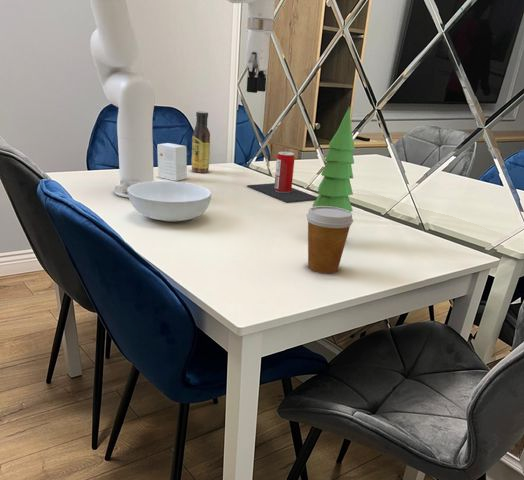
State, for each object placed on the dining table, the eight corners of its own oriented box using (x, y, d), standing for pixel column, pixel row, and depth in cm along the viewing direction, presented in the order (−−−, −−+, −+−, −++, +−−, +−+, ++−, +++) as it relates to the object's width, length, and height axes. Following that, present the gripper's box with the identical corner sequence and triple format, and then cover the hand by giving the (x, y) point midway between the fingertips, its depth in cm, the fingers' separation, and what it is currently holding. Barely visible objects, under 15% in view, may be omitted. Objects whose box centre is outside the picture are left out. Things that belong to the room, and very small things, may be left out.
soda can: (294, 192, 172) (298, 153, 166) (283, 194, 168) (286, 154, 162) (282, 188, 175) (285, 150, 169) (270, 190, 171) (273, 151, 166)
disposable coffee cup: (341, 261, 117) (349, 207, 111) (349, 277, 109) (358, 219, 103) (298, 259, 117) (304, 204, 111) (302, 275, 108) (309, 216, 102)
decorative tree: (349, 238, 133) (370, 107, 119) (344, 249, 125) (365, 109, 111) (311, 232, 135) (327, 102, 121) (303, 242, 127) (319, 105, 113)
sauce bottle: (189, 169, 193) (189, 110, 183) (205, 169, 195) (206, 110, 186) (195, 173, 188) (195, 112, 178) (211, 173, 190) (213, 113, 181)
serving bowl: (114, 221, 130) (112, 193, 127) (149, 203, 148) (148, 177, 145) (194, 233, 127) (195, 204, 124) (221, 213, 145) (222, 187, 142)
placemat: (320, 199, 167) (320, 198, 167) (287, 202, 161) (287, 201, 160) (278, 184, 183) (279, 182, 183) (247, 186, 176) (247, 185, 176)
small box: (187, 179, 179) (187, 145, 174) (176, 181, 175) (176, 147, 170) (168, 175, 183) (168, 142, 177) (157, 177, 178) (156, 143, 173)
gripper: (255, 27, 163) (251, 89, 172) (239, 23, 149) (236, 91, 157) (279, 29, 162) (274, 91, 170) (265, 25, 147) (260, 94, 156)
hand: (256, 91), depth 164 cm, fingers open, 9 cm apart
